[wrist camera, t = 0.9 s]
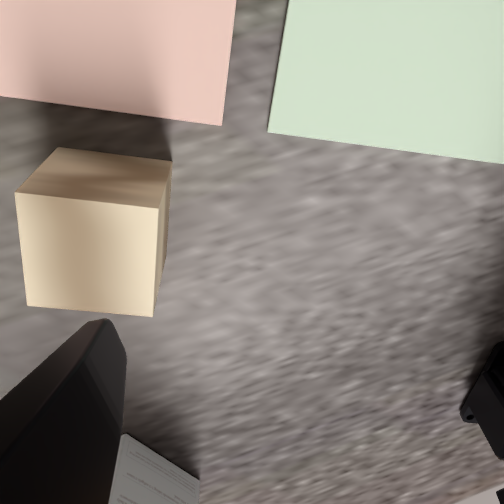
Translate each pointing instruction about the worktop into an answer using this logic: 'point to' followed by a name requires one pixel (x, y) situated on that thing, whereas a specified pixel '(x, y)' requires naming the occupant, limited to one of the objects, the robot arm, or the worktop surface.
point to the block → (94, 231)
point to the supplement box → (149, 478)
